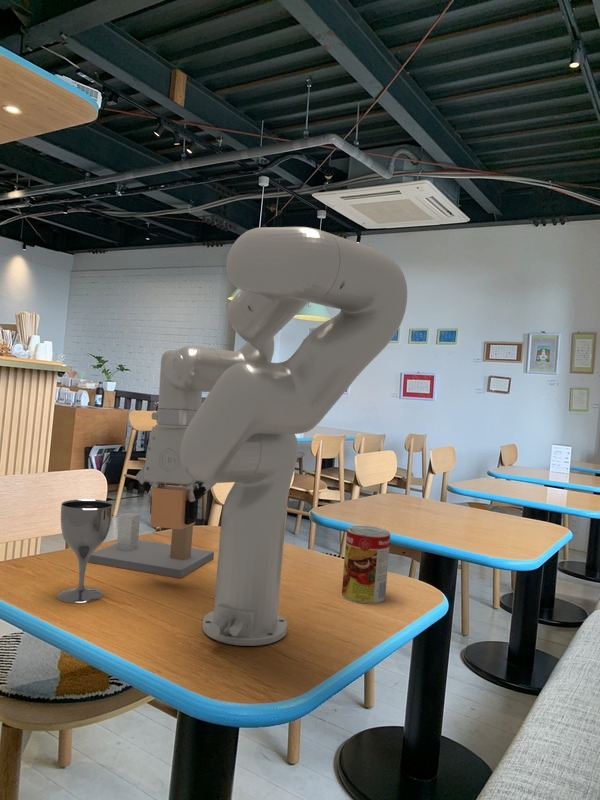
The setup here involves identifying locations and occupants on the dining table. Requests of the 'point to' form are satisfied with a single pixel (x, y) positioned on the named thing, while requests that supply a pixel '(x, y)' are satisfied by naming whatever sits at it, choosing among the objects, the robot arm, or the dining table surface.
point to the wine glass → (84, 540)
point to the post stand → (157, 556)
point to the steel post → (128, 531)
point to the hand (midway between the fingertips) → (173, 520)
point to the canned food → (366, 564)
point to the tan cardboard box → (169, 507)
